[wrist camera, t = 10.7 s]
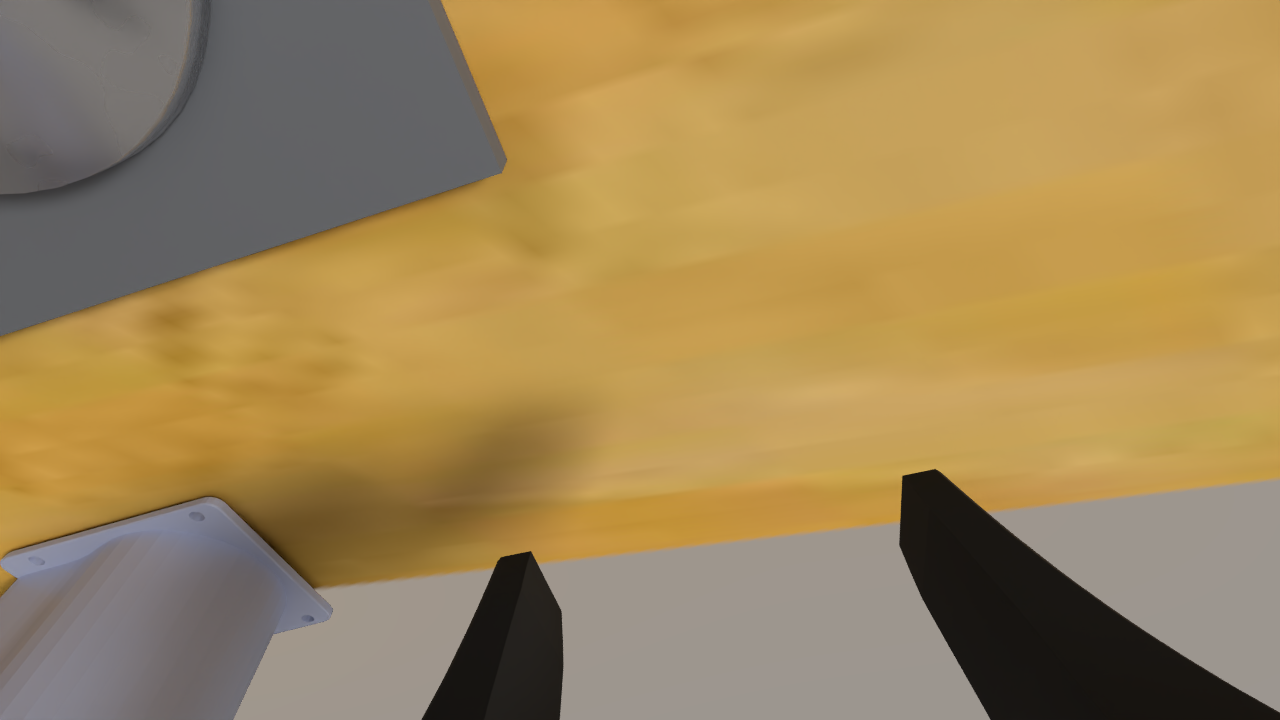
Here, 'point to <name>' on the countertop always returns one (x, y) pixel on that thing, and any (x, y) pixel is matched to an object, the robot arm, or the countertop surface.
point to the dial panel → (259, 153)
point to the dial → (91, 83)
